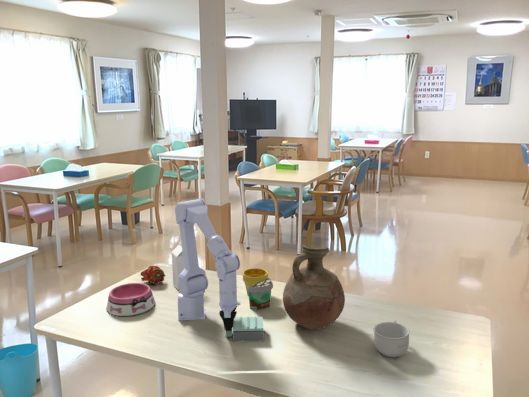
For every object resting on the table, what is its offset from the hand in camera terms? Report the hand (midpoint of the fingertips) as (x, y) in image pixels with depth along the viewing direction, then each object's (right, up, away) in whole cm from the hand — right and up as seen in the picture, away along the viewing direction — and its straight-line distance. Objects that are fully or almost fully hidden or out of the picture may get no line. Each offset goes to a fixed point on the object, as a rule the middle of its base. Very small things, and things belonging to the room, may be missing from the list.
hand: (228, 327), depth 152 cm
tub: (+6, -3, +1) cm, 7 cm away
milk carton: (-23, +5, +43) cm, 49 cm away
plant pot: (+8, +4, +34) cm, 35 cm away
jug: (+29, -2, +9) cm, 31 cm away
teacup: (+53, -5, -7) cm, 54 cm away
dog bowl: (-40, +1, +24) cm, 47 cm away
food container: (+12, +1, +23) cm, 26 cm away
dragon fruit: (-37, +6, +46) cm, 60 cm away
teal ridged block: (+5, -2, +1) cm, 6 cm away
